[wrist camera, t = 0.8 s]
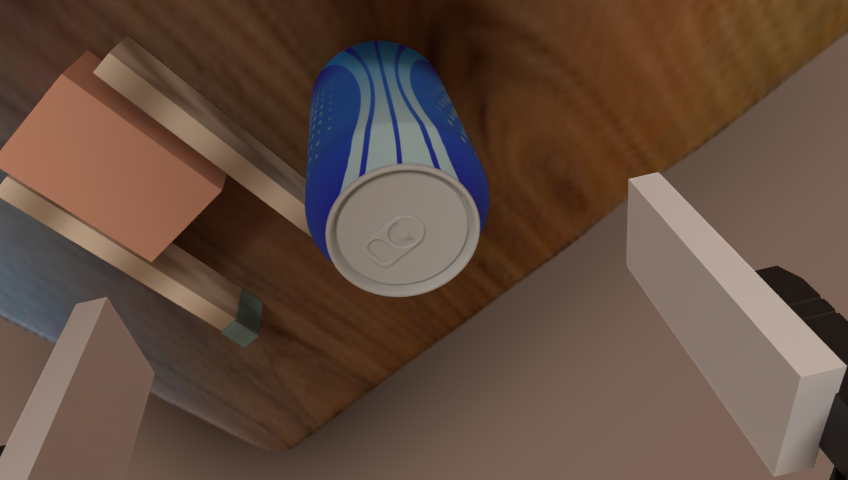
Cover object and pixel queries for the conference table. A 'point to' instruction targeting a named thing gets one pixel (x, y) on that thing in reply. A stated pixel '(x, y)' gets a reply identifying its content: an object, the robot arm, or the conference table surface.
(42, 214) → the tan piece
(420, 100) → the beer can
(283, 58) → the conference table surface
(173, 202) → the block
